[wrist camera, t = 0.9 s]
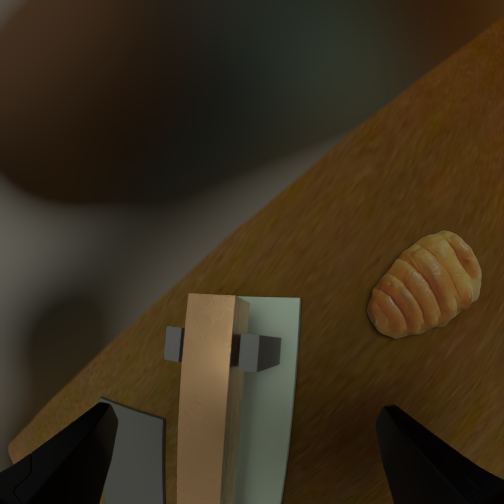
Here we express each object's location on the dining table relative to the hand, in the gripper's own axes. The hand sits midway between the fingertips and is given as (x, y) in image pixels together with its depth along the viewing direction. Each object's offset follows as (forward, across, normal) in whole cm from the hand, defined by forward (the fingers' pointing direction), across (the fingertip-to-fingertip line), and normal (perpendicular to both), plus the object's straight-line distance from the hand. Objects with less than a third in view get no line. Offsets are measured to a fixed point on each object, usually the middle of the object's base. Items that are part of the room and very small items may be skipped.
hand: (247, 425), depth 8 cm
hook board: (+8, +1, +14) cm, 16 cm away
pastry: (+12, -14, +1) cm, 19 cm away
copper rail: (+4, +2, +11) cm, 12 cm away
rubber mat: (+4, +12, +25) cm, 28 cm away
